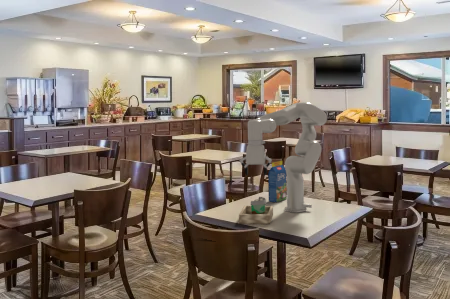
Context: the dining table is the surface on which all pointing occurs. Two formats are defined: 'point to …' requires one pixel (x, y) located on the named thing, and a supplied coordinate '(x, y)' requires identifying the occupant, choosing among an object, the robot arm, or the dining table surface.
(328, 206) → the dining table surface
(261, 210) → the food container
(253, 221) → the birch box
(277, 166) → the blue food package
